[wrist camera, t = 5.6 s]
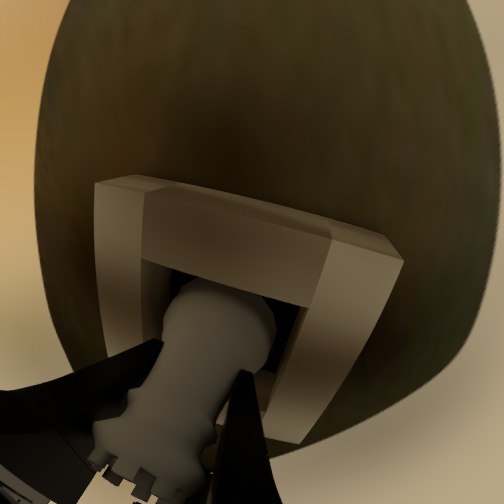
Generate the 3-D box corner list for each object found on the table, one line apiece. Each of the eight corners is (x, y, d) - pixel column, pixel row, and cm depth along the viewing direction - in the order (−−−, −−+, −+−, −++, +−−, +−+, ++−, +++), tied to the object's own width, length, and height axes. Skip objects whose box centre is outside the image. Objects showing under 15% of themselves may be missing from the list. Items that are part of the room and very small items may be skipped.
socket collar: (303, 407, 13) (299, 443, 11) (135, 351, 14) (113, 378, 12) (384, 234, 9) (404, 260, 7) (135, 174, 10) (94, 183, 8)
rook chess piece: (253, 371, 12) (198, 527, 5) (168, 330, 12) (69, 459, 5) (297, 300, 10) (254, 517, 3) (192, 250, 10) (34, 398, 3)
